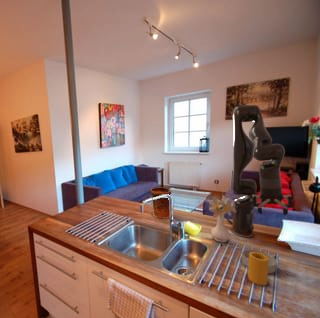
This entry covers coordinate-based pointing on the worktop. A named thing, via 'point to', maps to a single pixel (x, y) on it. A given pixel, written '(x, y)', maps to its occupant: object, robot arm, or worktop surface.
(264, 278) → the yellow hollow cylinder
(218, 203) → the flower vase
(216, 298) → the worktop surface
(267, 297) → the worktop surface
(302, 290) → the worktop surface
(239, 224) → the robot arm
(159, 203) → the vessel
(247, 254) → the bowl
